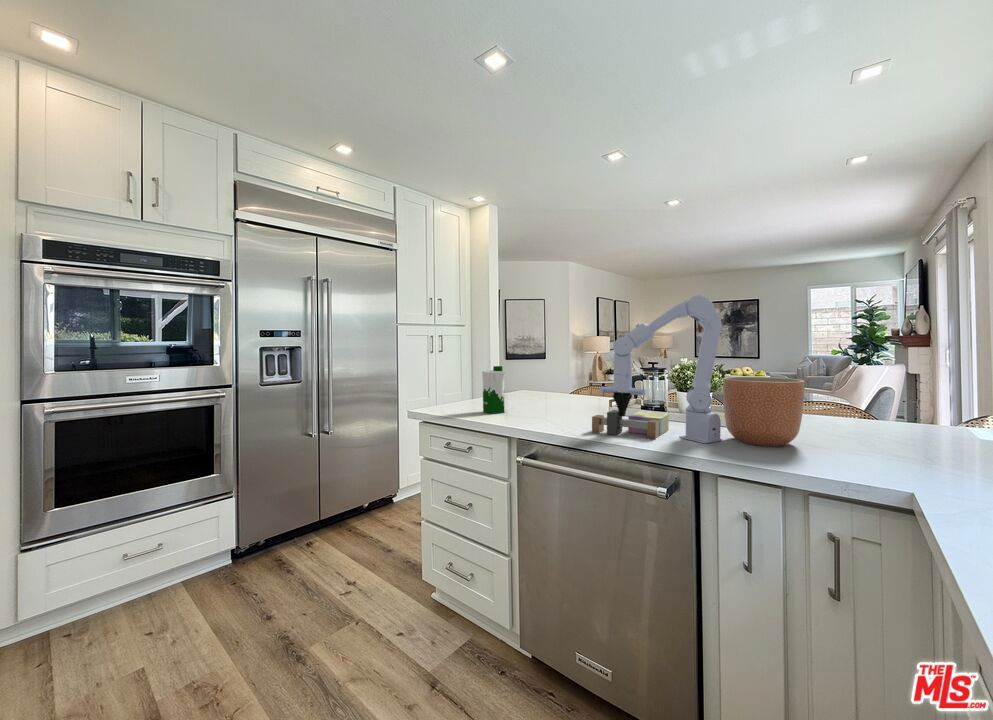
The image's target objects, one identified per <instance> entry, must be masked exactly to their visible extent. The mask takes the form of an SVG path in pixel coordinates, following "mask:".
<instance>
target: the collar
mask: <svg viewBox="0 0 993 720" xmlns="http://www.w3.org/2000/svg"><path fill="white" fill-rule="evenodd" d="M606 417H607V425H606V434H607V435H613V436H614V435H615V436H616V435H618V434H620V433H622V432H623V427H620V426H618V419H623V416H619V410H618V409H612V410H610V411H607V412H606Z"/></svg>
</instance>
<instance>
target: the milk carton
mask: <svg viewBox="0 0 993 720" xmlns="http://www.w3.org/2000/svg"><path fill="white" fill-rule="evenodd" d="M481 374H482V410H483V411H482V412H483V413H486V414H489V415H493V414H494V415H495V414H504V413H505V377H506V370H503V366H502V365H493V368H492V370H482V372H481Z"/></svg>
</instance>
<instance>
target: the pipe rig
mask: <svg viewBox="0 0 993 720" xmlns="http://www.w3.org/2000/svg"><path fill="white" fill-rule="evenodd" d="M604 426H607V416H606V417H605V416H604V414H603V415H602V414H595V415H593V416H591V433H593V434H600V432H601V433H602V432H604V430H605V427H604ZM618 426H620V427H622V428H628V427H630V428H640V429H647V434H646V437H647V438H649V440H657V439H658V438H659V420H652V419H651V420H650V421H641V420H630V419H628V418H627V419H626V418H622V419H618ZM657 437H658V438H657ZM656 438H657V439H656Z"/></svg>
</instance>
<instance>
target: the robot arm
mask: <svg viewBox="0 0 993 720" xmlns="http://www.w3.org/2000/svg"><path fill="white" fill-rule="evenodd" d="M717 312H718V311H717V310H716V307H715V305H714V302H712V301H711V300H710V299H709V298H708V297H707V296H705V295H701V294H698V295H693V296H692V297H690V299H689V300H688V299H686V300H684V301H681V302H680V303H678V304H676V305H674V306H673V307H671V308H669V310H667V311H666V312H664V313H663V314H661V315H660V316H658V317H657V318H656V319H654V320H652V321H651V322H650V323H644V322H642V323H641V324H639V323H637V324H636V325H635V328H633V329H632V330H630V331H628V332H627V333H626V332H625V333H623V334H622V337H618V338H617V339H615V341H614V343H613V347H612V348H613V351H614V354H613V386H600V387H599V393H600V394H613V395H612V397H613V400H614V402H615V404H616V407H617V410H619V416H622V418H623V417H625V416H626V413H627V412H626V411H627V408H628V406H629V403H630V401H631V400H632V397H633V395H637V396H646V395H647V388H641V387H640V388H637V387H632V386H633V384H632V383H633V382H632V381H633V379H632V377H633V360H632V351H633V349H638V348H640V347H641V346H643V345H644V344H646V343H647V342H649V341H650V340H652V339H653V338H654V336H655V332H657V331H658V330H660V329H661V328H663V327H665V326H666V325H667V324H669V323H671V322H673V321H675V320H676V319H681V318H686V317H688V316H689V318H692V319H694V320H695V321H696V322H698V324H699V325H700V326H701V327H702V328H703V331H702V335H701V336H702V337H701V342H700V346H699V350H698V351H699V352H698V355H697V362H696V367H695V372H694V377H693V381H692V383H691V386H690V389H689V390H688V391H687V393H686V395H685V396H686V402H687V403H688V406H687V407H686V408H685V434H683V435H678V438H680V439H685V440H689V441H694V442H697V443H701V444H702V443H703V444H709V443H714V442H715V443H716V442H721V441H722V440H723V439H722V438H721V425H722V424H721V418H720V416H719V414H717V413H715V412H712V408H711V405H712V403H713V402H712V396H711V385H712V384H711V380H712V375H713V370H714V367H715V366H714V365H715V362H716V361H715V360H716V356H717V351H718V347H719V340H720V336H721V330H722V326H723V325H722V321H721V319H720V316H719V313H717Z"/></svg>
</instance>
